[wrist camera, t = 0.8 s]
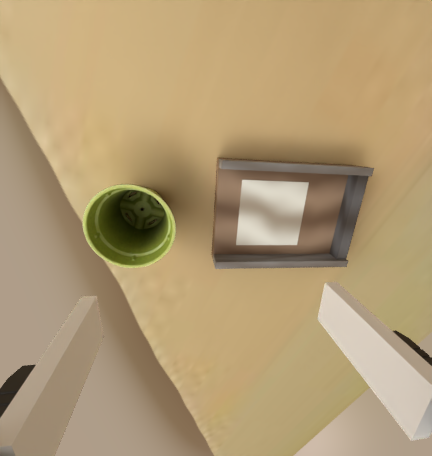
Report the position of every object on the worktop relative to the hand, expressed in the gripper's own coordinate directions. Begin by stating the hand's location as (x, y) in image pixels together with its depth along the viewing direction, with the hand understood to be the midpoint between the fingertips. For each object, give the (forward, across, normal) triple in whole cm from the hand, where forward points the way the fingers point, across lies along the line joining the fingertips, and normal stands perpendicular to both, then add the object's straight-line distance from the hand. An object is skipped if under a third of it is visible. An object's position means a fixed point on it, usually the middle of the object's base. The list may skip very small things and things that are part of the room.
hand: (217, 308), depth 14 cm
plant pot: (+22, -8, 0) cm, 23 cm away
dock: (+22, +12, 0) cm, 25 cm away
